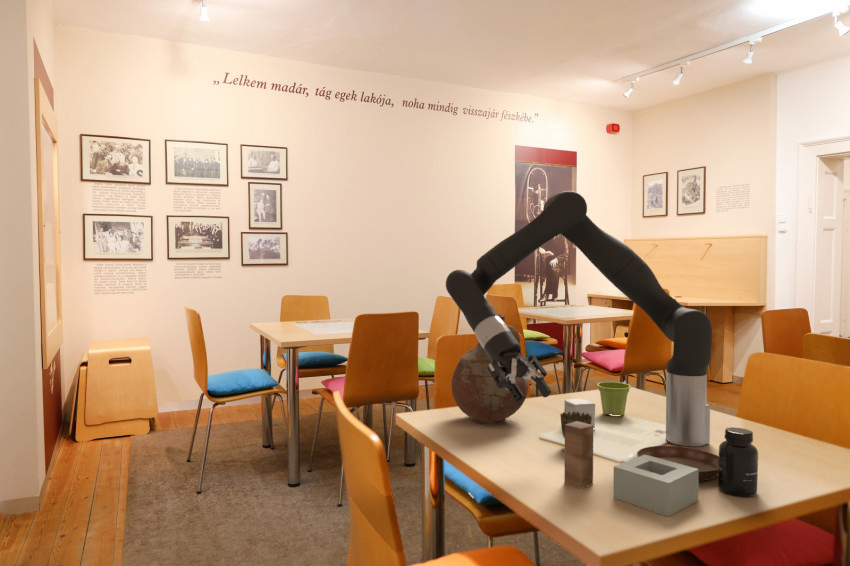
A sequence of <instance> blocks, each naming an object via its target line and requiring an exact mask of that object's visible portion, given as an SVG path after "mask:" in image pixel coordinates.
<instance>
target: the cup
mask: <svg viewBox="0 0 850 566" xmlns="http://www.w3.org/2000/svg"><path fill="white" fill-rule="evenodd" d="M559 415H560V425H561V431H562V435H563V438H564V439H565V424H569V423H572V422H576V421H578V422H582V423H586V424H590V425H591V421H592V417H591V415H590V416H589V413H587V414H586V415H584V412H583V413H582V415H580V414H579V412H577V413H575V412H573V413H572V414H571V415H570V412H568V414H566V413H565V412H564V411H562V413H559Z"/></svg>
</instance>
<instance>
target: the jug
mask: <svg viewBox="0 0 850 566" xmlns="http://www.w3.org/2000/svg"><path fill="white" fill-rule="evenodd" d="M498 315H499V317H500V318H501V319H502V320H503V321H504V323H505V324H506V316H505V314H504V315H503V314H498ZM506 325H507V327H508V328H509V330H510V331H511V332H512V334H513V335H514V337H515V338H516V340H517V341H518V343H519V344H520V345H521V337H520V334H519V331H518V330H517V328H515V327H514V326H512V325H509V324H506ZM477 342H478V343H477V345H475V347H473V348H470V349H469V351H467V352H466V353H464V354H462V355H461V357H460V359H459V361H458V363H457V364H456V366H455V368H454V371H453V374H452V378H451V392H452V396H453V399H454V401H455V404H456V406H457V407H458V408H459V409H460V411H461V412H462V413H463V414H465V415H466V416H468V417H469V418H471V421H472V422H473V423H475V424H477V425H483V426H497V425H498V426H499V425H502V424H505V422H506V419H508V418H510V417H511V416H513V415H514V414H515V413H516V412H518V411H519V409H521V407H522V406H523V404H524V403H525V401H526V399H527V395H528V393H529V380H526V379H524V378H523V377H521V378H519V377H517V378H516V379H515V383H514V384H517V385H518V386H519V388H520V389H521V391H522V392H523V394H524V395H525V399H524V400H523V401H522V403H517V401H516V400H514V398H513V396H512V395H511V393H510V392H509V390H507V389H505V388H503V387H502V388H501V389H500V388H498V386H497V385H496V383H495V381H494V379H493V378H492V376H491V374H490V372H489V371H488V369H487V367H488V365H489V364H490V363H491V360H490V358H489V357H488V355H487V354H486V352H485V351H484V349H483V347H482V346H481V344H480V343H479V341H477ZM499 379H500V381H501V378H500V377H499Z"/></svg>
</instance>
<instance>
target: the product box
mask: <svg viewBox="0 0 850 566" xmlns="http://www.w3.org/2000/svg"><path fill="white" fill-rule="evenodd" d="M563 406H564V411H563V412H565V413H566V414H568V412H570V415H571V414H572V413H573V412H575V413H577V412H579V414H580V415H582V413H583V412H584V415H586V414H587V413H589V416H590V415H591V417H592V421H591V425H593V428H595V429H596V427H595V426H596V403H594V402H592V401H590V400H587V399H586V398H573V399H572V398H571V399H564V405H563Z"/></svg>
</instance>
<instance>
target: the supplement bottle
mask: <svg viewBox="0 0 850 566" xmlns="http://www.w3.org/2000/svg"><path fill="white" fill-rule="evenodd" d="M753 437H754V433H753V431H752V430H750V429H746V428H742V427H726V428H725V429H724V439H725V440H724V441H722V442H721V443H720V444H719V446H718V447H719V448H718V456H719V469H718V475H717V477H718V478H717V480H718V481H717V485H718V489H719V490H720V491H721V492H723V493H725V494H728V495H731V496H736V497H742V498H743V497H745V498H748V497H754V496H756V495H757V493H758V477H759V476H758V474H759V473H758V472H759V469H758V468H759V450H758V449H757V447H756V446H755V445H754V444H752V443H753V442H754V438H753Z"/></svg>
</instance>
